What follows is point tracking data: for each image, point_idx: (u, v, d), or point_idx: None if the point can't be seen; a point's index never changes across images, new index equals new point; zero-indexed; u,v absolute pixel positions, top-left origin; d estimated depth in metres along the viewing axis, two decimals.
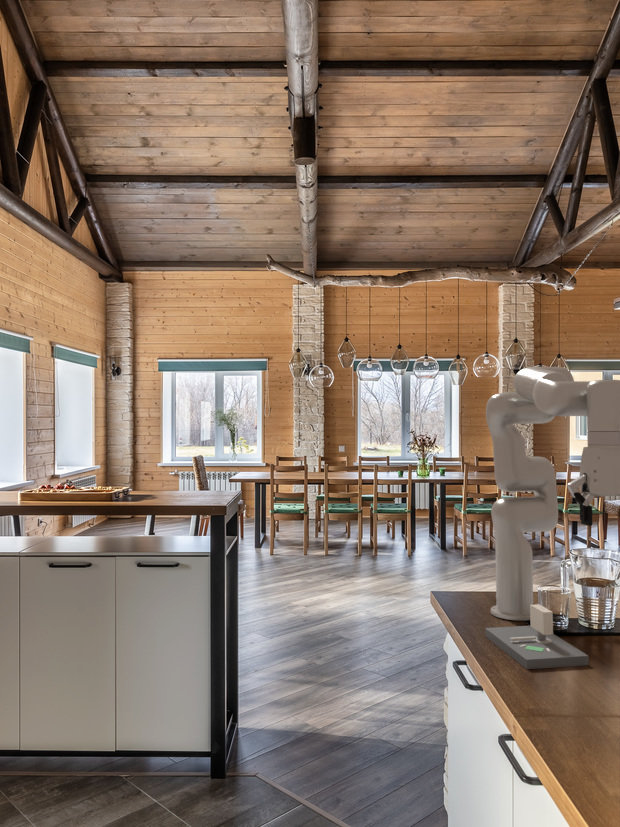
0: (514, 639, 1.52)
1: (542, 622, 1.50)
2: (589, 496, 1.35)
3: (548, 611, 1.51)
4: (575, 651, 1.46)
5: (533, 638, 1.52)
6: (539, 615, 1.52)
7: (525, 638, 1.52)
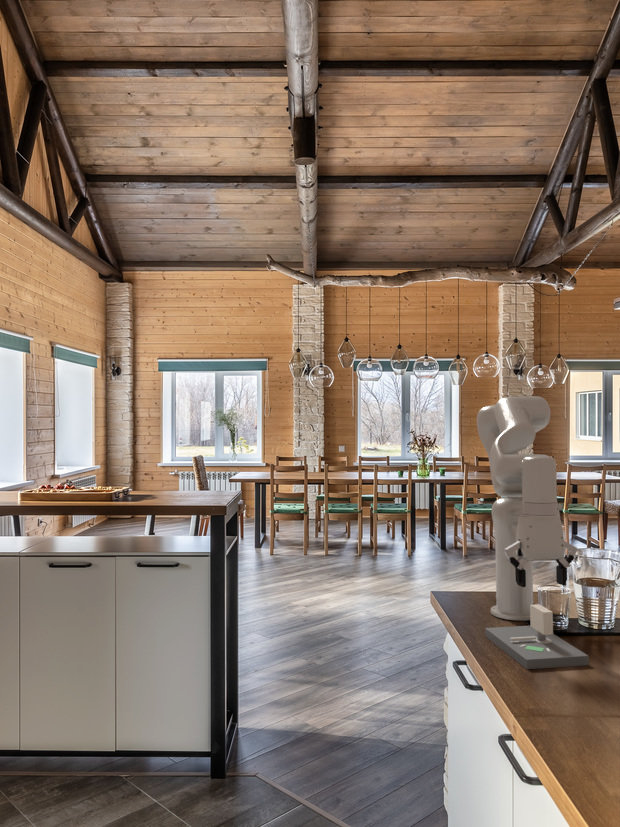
0: (514, 639, 1.52)
1: (542, 622, 1.50)
2: (523, 560, 1.51)
3: (548, 611, 1.51)
4: (575, 651, 1.46)
5: (533, 638, 1.52)
6: (539, 615, 1.52)
7: (525, 638, 1.52)
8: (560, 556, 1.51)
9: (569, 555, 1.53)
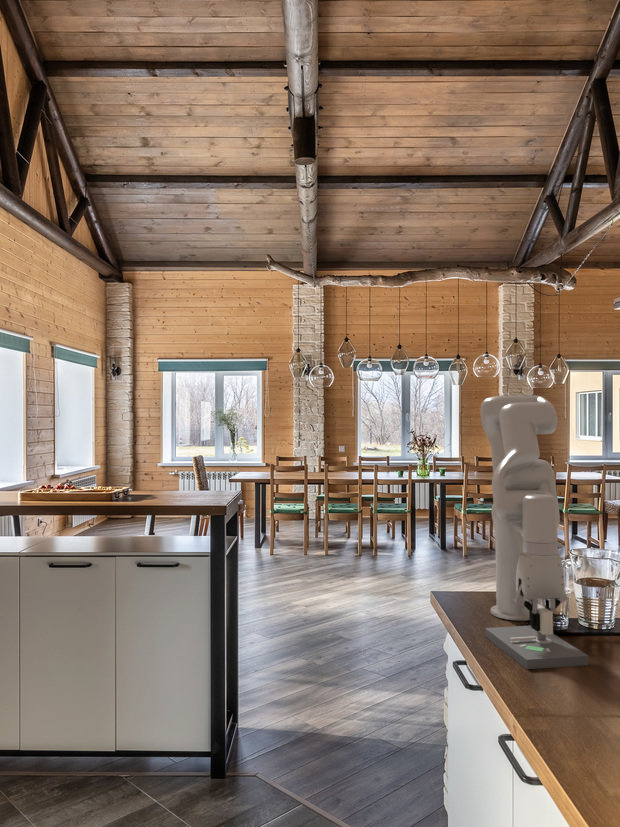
0: (514, 639, 1.52)
1: (542, 622, 1.50)
2: (533, 604, 1.51)
3: (548, 611, 1.51)
4: (575, 651, 1.46)
5: (533, 638, 1.52)
6: None
7: (525, 638, 1.52)
8: (560, 595, 1.52)
9: (555, 600, 1.53)
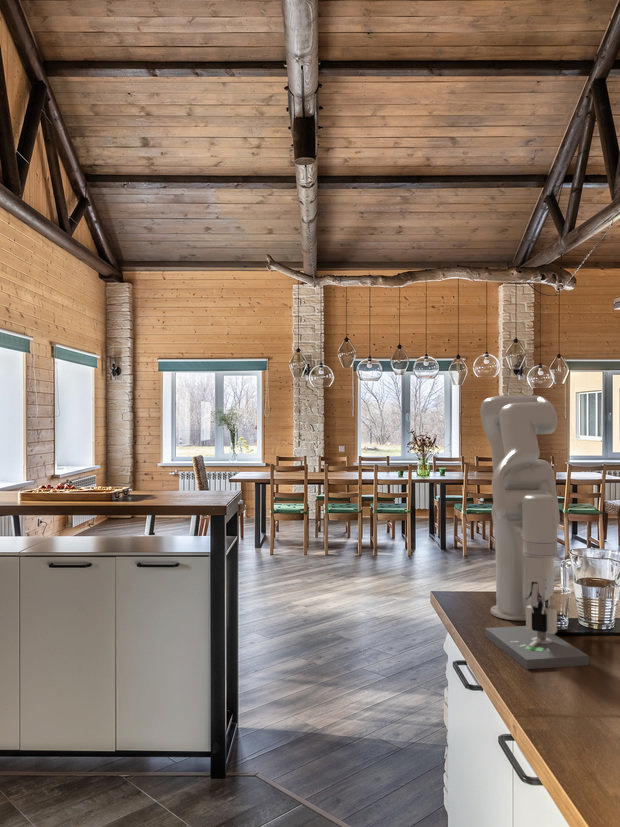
0: (533, 645, 1.47)
1: (551, 621, 1.51)
2: (544, 606, 1.50)
3: (553, 609, 1.52)
4: (575, 651, 1.46)
5: (539, 640, 1.51)
6: None
7: (536, 642, 1.50)
8: (553, 591, 1.55)
9: None
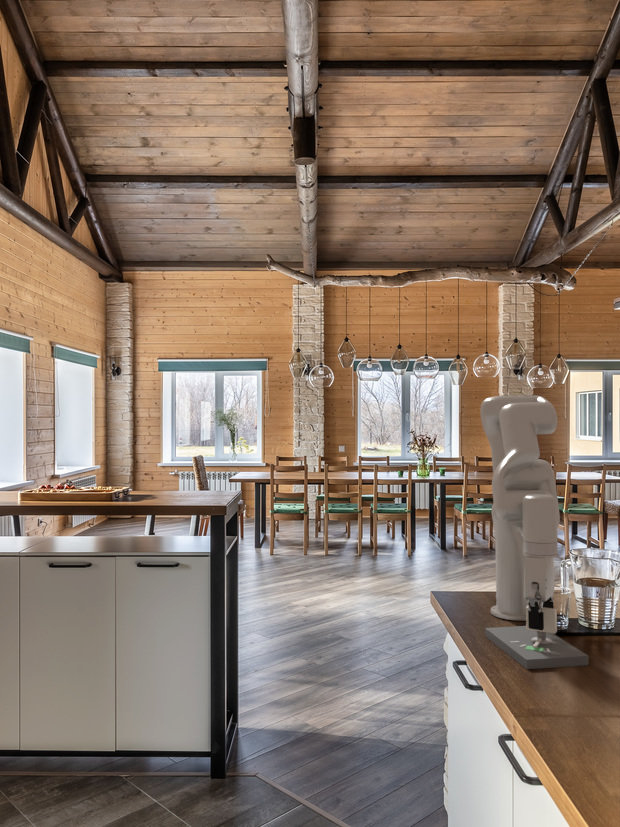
0: (536, 646, 1.47)
1: (552, 621, 1.51)
2: (541, 603, 1.48)
3: (553, 609, 1.52)
4: (575, 651, 1.46)
5: (541, 640, 1.51)
6: (546, 615, 1.51)
7: (539, 642, 1.49)
8: (553, 591, 1.55)
9: None
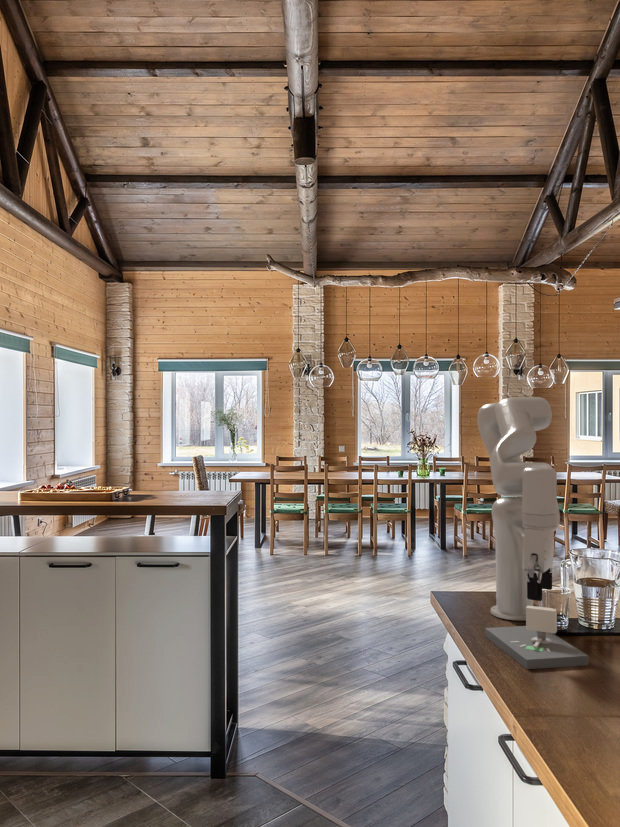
0: (537, 646, 1.47)
1: (552, 621, 1.51)
2: (540, 574, 1.49)
3: (553, 609, 1.52)
4: (575, 651, 1.46)
5: (541, 640, 1.51)
6: (546, 615, 1.51)
7: (539, 642, 1.49)
8: (552, 562, 1.56)
9: None
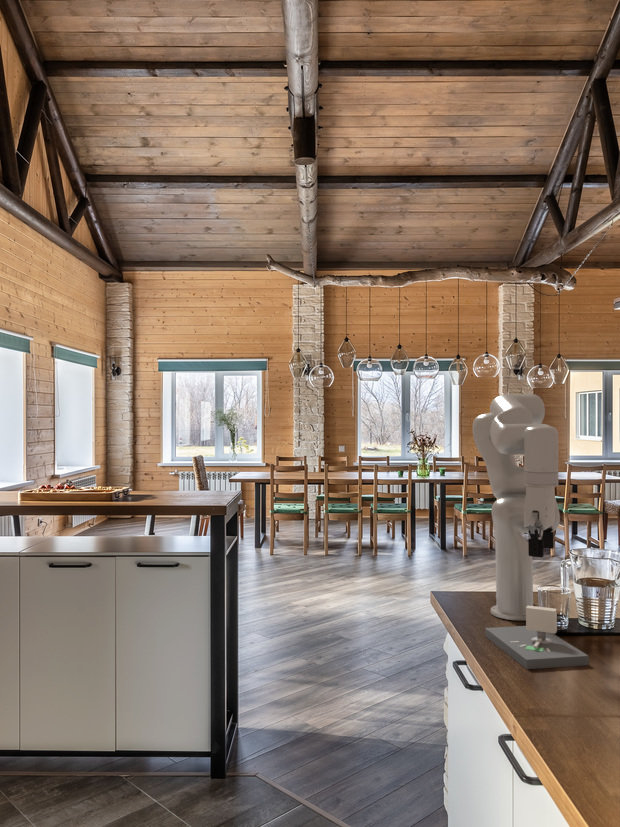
0: (537, 646, 1.47)
1: (552, 621, 1.51)
2: (541, 531, 1.51)
3: (553, 609, 1.52)
4: (575, 651, 1.46)
5: (541, 640, 1.51)
6: (546, 615, 1.51)
7: (539, 642, 1.49)
8: (554, 521, 1.58)
9: None
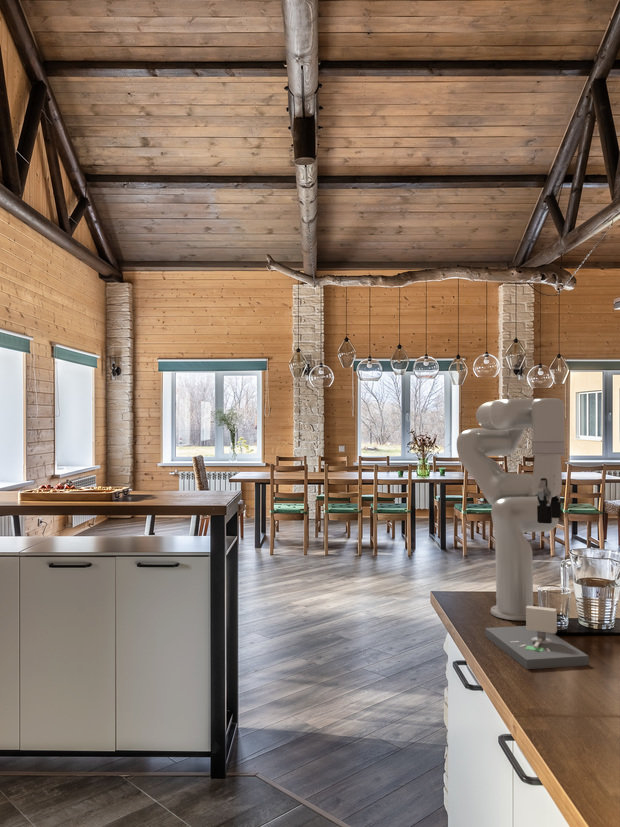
0: (537, 646, 1.47)
1: (553, 621, 1.51)
2: (550, 498, 1.56)
3: (553, 609, 1.52)
4: (575, 651, 1.46)
5: (541, 640, 1.51)
6: (546, 615, 1.51)
7: (539, 642, 1.49)
8: None
9: None
